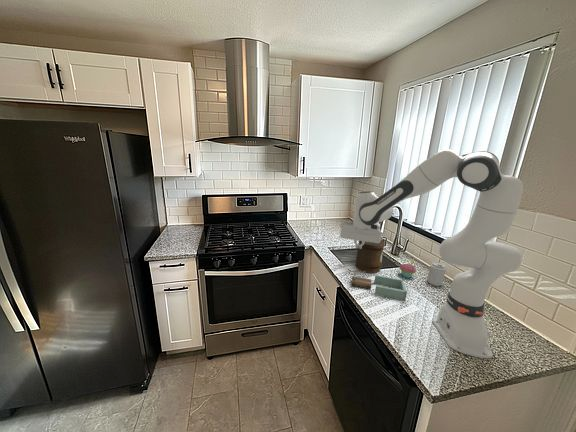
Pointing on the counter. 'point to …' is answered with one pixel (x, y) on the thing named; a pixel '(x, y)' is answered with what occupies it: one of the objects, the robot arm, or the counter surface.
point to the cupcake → (407, 269)
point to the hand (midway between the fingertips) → (358, 248)
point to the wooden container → (370, 257)
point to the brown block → (361, 282)
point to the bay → (390, 291)
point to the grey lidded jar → (436, 273)
